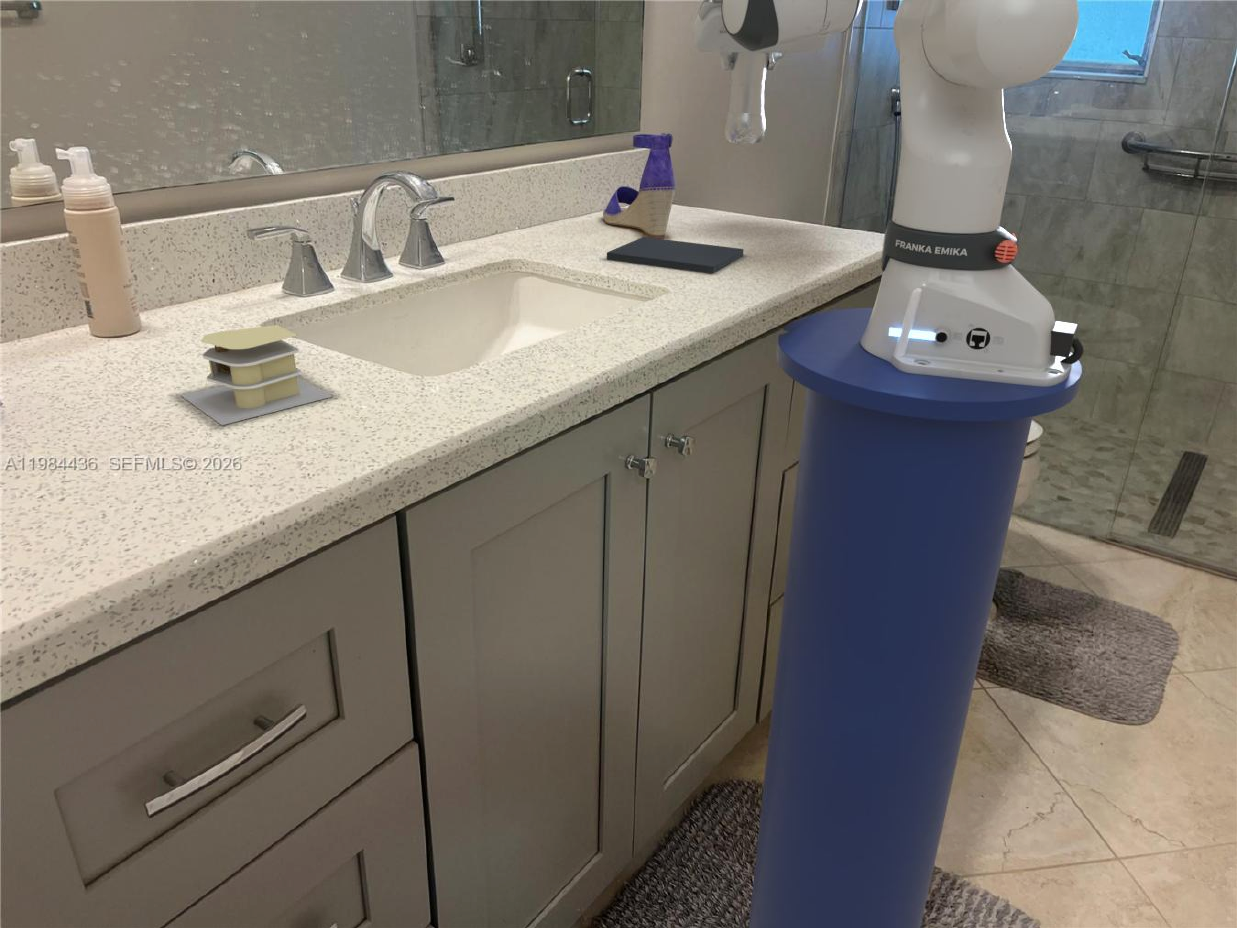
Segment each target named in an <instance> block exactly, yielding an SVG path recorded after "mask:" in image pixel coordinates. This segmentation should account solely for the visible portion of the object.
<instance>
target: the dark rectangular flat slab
mask: <svg viewBox="0 0 1237 928" xmlns="http://www.w3.org/2000/svg"><path fill="white" fill-rule="evenodd" d="M744 251H745V250H744V248H738V247H732V246H731V247H730V246H722V245H713V244H705V243H699V242H698V243H697V242H691V241H690V242H689V241H681V240H672V239H666V238H663V239H657V238H649V237H648V236H642V237H639V238H637V239H635V240H632V241H630V242H628V243H625V244H623V245H621V246H619V247H615V248H614V249H612V250H609V251H607V252H606V260H607V261H608V260H609V261H615V262H623V263H629V264H630V263H631V264H638V265H646V266H652V267H653V266H654V267H660V268H661V267H662V268H667V269H676V270H683V271H691V272H697V273H698V272H699V273H705V274H715V273H716V272H717V271H720V270H721V269H723V268H724V267H726V266H728V265H729V264H732V263H733V262H735V261H737V260H738V259H741V258H742V257H743V256H744Z"/></svg>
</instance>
